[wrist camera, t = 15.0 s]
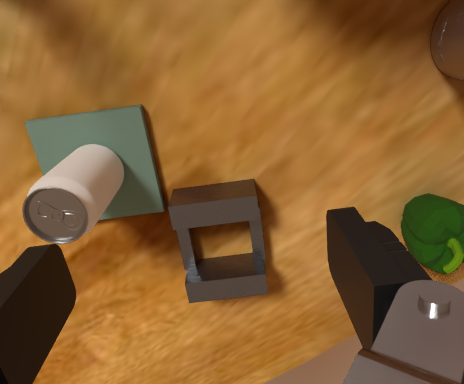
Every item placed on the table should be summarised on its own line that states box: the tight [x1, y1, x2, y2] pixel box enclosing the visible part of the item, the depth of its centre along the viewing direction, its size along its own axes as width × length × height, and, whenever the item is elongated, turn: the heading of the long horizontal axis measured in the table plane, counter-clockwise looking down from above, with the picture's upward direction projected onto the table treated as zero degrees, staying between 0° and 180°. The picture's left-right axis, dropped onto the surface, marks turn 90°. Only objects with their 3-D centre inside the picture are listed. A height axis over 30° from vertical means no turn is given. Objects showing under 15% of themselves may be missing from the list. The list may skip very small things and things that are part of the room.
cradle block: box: [168, 179, 268, 303], centre depth 46 cm, size 11×14×5 cm
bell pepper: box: [401, 193, 464, 274], centre depth 44 cm, size 8×8×10 cm
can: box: [22, 144, 124, 244], centre depth 38 cm, size 6×6×12 cm
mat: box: [24, 105, 165, 220], centre depth 44 cm, size 13×13×1 cm
